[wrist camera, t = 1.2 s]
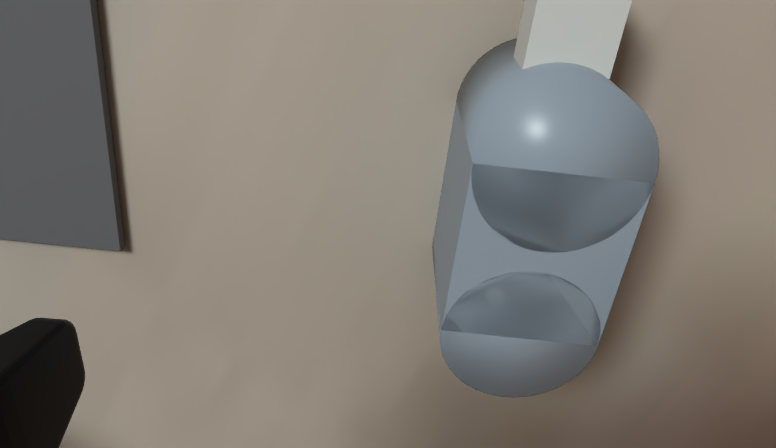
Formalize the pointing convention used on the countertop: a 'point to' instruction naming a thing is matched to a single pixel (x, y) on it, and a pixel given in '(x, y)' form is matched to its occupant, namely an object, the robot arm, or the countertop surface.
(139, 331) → the countertop surface
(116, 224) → the mat
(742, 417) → the countertop surface
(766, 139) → the countertop surface
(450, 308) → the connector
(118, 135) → the countertop surface
